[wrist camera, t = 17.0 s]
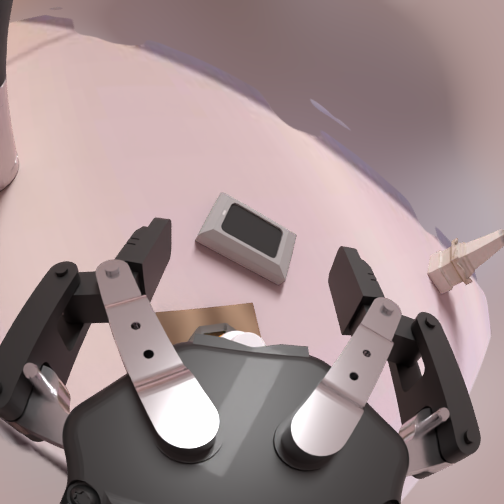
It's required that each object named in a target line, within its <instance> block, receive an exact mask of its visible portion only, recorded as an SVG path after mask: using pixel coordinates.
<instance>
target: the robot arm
mask: <svg viewBox="0 0 504 504" xmlns="http://www.w3.org/2000/svg"><path fill="white" fill-rule="evenodd" d="M12 3H13V0H0V191H1V190H2V189H4V188H5V187H6V186H7V185H8V184H10V182H11V181H12V180H13V179H14V177H15V176H16V174H17V171H18V168H19V160H18V155H17V152H16V147H15V142H14V136H13V131H12V125H11V118H10V111H9V103H8V94H7V81H6V54H7V35H8V26H9V20H10V13H11V8H12ZM170 255H171V220H170V219H163V218H154V219H153V221H152V222H151V223H150V225H149V226H148V227H145V226H143V227H141V228H139V229H138V230H136V231H135V232H134V233H133V235H132V236H131V237H130V239H129V240H128V241H127V244H125V245H124V247H123V248H122V250H121V251H120V252H119V254H118V255H117V257H116V258H115V259H114V260H108V261H105V262H103V263H101V264H100V265H99V266H98V267H97V269H96V271H95V272H78V268H77V265H76V264H74V263H73V262H68V261H66V262H60V263H58V264H56V265H54V266H53V267H51V268H50V270H49V271H48V272H47V274H46V275H45V276H44V278H43V279H42V280H41V282H40V283H39V285H38V286H37V287H36V289H35V290H34V292H33V293H32V295H31V296H30V297H29V299H28V300H27V302H26V303H25V305H24V307H23V308H22V310H21V311H20V313H19V314H18V316H17V318H16V319H15V321H14V322H13V324H12V326H11V327H10V329H9V331H8V333H7V334H6V336H5V338H4V340H3V341H2V343H1V345H0V418H1V419H2V420H4V421H5V422H6V423H7V424H9V425H10V426H11V427H13V428H14V429H15V430H16V431H18V432H19V433H21V434H23V435H25V436H26V437H28V438H29V439H30V440H32V441H35V442H41V441H46V442H48V443H50V444H53V445H55V446H57V447H59V448H62V449H64V451H65V456H66V462H67V471H68V480H67V487H66V490H65V493H64V495H63V497H62V500H61V502H60V504H401V494H402V489H403V484H404V481H405V478H406V477H407V476H411V475H412V476H413V477H415V478H417V479H422V478H425V477H427V476H429V475H431V474H434V473H436V472H438V471H440V470H443V469H444V468H447V467H449V466H450V465H452V464H454V463H456V462H458V461H460V460H462V459H464V458H466V457H467V456H469V455H471V454H473V453H474V452H475V451H476V450H477V449H478V447H479V445H480V439H481V437H480V431H479V427H478V424H477V420H476V417H475V413H474V410H473V406H472V403H471V400H470V397H469V394H468V391H467V388H466V385H465V382H464V380H463V377H462V374H461V371H460V369H459V366H458V364H457V361H456V359H455V356H454V354H453V351H452V349H451V347H450V344H449V342H448V340H447V337H446V335H445V333H444V331H443V329H442V326H441V324H440V323H439V321H438V320H437V319H436V318H435V317H434V316H433V315H431V314H429V313H426V312H421V313H419V314H418V315H417V317H416V318H415V319H412V318H409V317H406V316H403V315H402V313H401V310H400V308H399V306H398V305H397V304H396V303H395V302H393V301H392V300H390V299H387V298H385V297H384V294H383V292H382V290H381V288H380V286H379V284H378V282H377V281H376V277H375V275H374V273H373V271H372V269H371V267H370V266H369V265H368V264H367V263H366V262H365V261H364V260H361V258H360V256H359V254H358V252H357V250H356V249H355V248H349V247H343V246H341V247H340V248H339V249H338V252H337V254H336V257H335V260H334V262H333V265H332V268H331V270H330V273H329V279H328V283H329V287H330V291H331V295H332V298H333V302H334V306H335V310H336V314H337V318H338V321H339V325H340V330H341V334H342V335H351V339H350V341H349V342H348V344H347V345H346V347H345V348H344V350H343V351H342V353H341V354H340V356H339V357H338V359H337V360H336V362H335V363H334V364H333V366H332V367H331V366H330V365H328V364H327V363H325V362H324V361H322V360H320V359H318V358H316V357H313V356H310V355H309V352H308V347H307V346H294V345H283V344H280V345H271V346H262V347H250V346H247V345H244V344H241V343H238V342H235V341H232V340H229V339H226V338H224V337H217V336H211V335H205V334H198V333H195V336H194V340H193V341H187V342H181V343H177V344H174V345H172V344H171V342H170V340H169V338H168V336H167V335H166V333H165V331H164V329H163V327H162V325H161V323H160V322H159V320H158V318H157V316H156V314H155V312H154V310H153V308H152V306H151V304H150V302H151V300H152V297H153V295H154V293H155V290H156V288H157V286H158V284H159V281H160V279H161V277H162V275H163V273H164V270H165V268H166V266H167V264H168V262H169V259H170ZM91 323H109V325H110V328H111V331H112V334H113V337H114V340H115V343H116V345H117V348H118V351H119V354H120V356H121V359H122V361H123V364H124V367H125V369H126V372H127V374H126V375H124V376H122V377H121V378H119V379H118V380H116V381H115V382H113V383H112V384H110V385H109V386H107V387H106V388H104V389H103V390H101V391H99V392H98V393H96V394H95V395H93V396H92V397H90V398H88V399H87V400H85V401H84V402H82V403H81V404H79V405H78V406H76V407H75V408H74V409H73V410H72V411H71V412H70V409H69V407H70V394H69V391H68V389H67V388H66V387H65V385H66V383H67V380H68V377H69V375H70V372H71V369H72V367H73V364H74V362H75V359H76V357H77V355H78V352H79V350H80V347H81V345H82V343H83V340H84V338H85V336H86V334H87V331H88V329H89V327H90V325H91ZM421 356H422V359H423V362H424V366H425V371H424V374H423V376H422V375H421V372H420V369H419V365H418V362H417V361H418V360H419V359H420V357H421ZM386 361H388V363H389V367H390V371H391V376H392V380H393V384H394V388H395V393H396V398H397V402H398V407H399V412H400V417H401V423H402V426H401V428H400V430H399V434H398V433H397V432H396V431H395V430H394V429H393V428H392V427H391V426H390V425H389V424H388V423H387V422H386V421H385V420H384V419H383V418H382V417H381V416H380V415H379V414H378V413H377V412H376V411H375V410H374V409H373V408H372V407H371V406H370V405H369V404H368V403H367V400H368V398H369V396H370V394H371V393H372V391H373V389H374V387H375V385H376V382H377V380H378V378H379V376H380V374H381V372H382V370H383V368H384V365H385V363H386Z"/></svg>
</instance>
